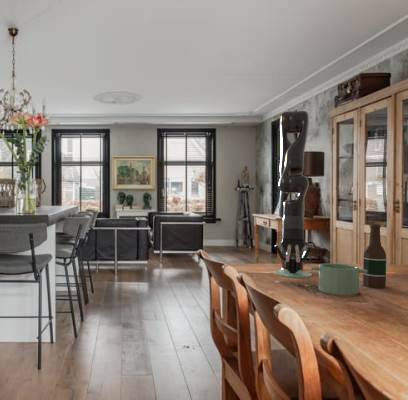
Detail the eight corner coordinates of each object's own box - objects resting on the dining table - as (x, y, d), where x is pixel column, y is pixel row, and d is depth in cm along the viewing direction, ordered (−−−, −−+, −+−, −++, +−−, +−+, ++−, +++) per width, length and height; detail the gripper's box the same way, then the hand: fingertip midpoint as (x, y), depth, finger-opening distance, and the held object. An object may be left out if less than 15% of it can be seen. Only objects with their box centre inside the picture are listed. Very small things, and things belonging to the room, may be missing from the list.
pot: (309, 287, 168) (309, 262, 168) (362, 290, 162) (363, 265, 162) (312, 294, 156) (313, 267, 156) (370, 298, 150) (370, 270, 150)
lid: (273, 271, 178) (273, 255, 178) (310, 273, 174) (310, 257, 174) (274, 277, 166) (274, 260, 165) (313, 280, 161) (313, 262, 161)
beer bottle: (378, 289, 164) (379, 225, 164) (358, 285, 171) (359, 224, 171) (390, 287, 168) (391, 224, 168) (370, 283, 175) (371, 223, 175)
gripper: (311, 226, 170) (311, 270, 171) (273, 225, 175) (273, 268, 176) (313, 228, 163) (313, 274, 164) (274, 227, 168) (273, 271, 169)
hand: (292, 271), depth 170 cm, fingers closed on lid, 2 cm apart
